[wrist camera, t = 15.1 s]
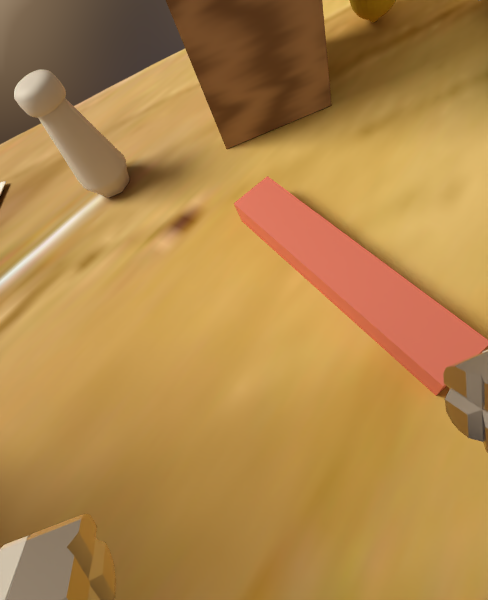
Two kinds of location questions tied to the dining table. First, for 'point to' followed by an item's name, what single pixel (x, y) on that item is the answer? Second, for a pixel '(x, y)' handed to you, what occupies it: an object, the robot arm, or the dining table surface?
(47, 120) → the salt shaker
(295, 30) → the wooden knife block
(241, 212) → the salmon red bar
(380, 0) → the lemon
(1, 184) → the dessert
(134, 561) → the dining table surface
